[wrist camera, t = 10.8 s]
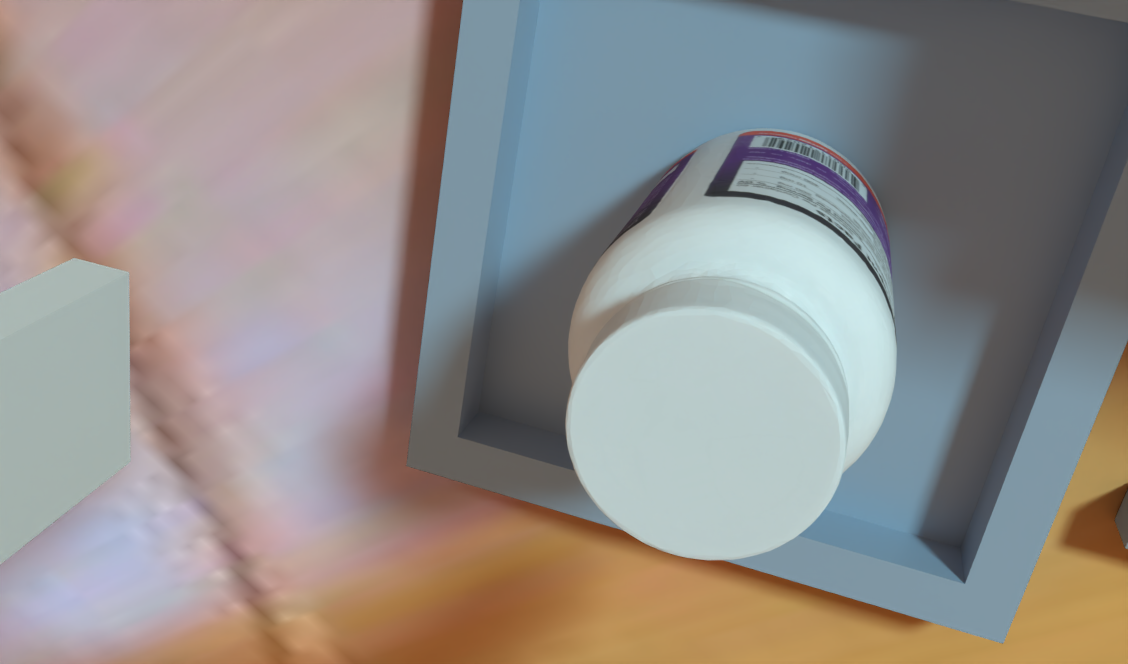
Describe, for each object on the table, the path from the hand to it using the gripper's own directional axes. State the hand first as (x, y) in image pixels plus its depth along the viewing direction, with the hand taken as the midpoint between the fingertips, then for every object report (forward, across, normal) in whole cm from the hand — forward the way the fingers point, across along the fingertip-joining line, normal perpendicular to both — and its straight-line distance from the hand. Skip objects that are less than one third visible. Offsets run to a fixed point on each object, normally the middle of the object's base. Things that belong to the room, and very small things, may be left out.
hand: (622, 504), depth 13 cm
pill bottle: (+13, +1, 0) cm, 13 cm away
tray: (+13, +1, 0) cm, 13 cm away
